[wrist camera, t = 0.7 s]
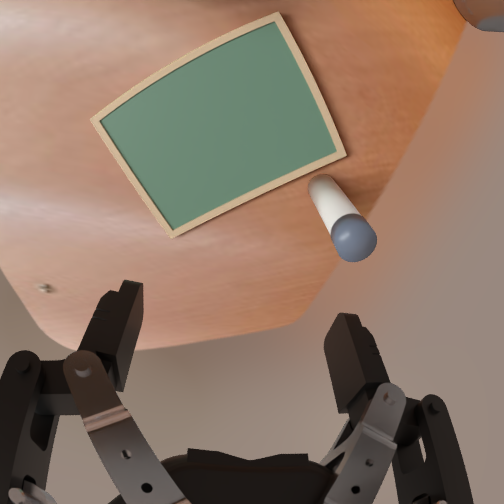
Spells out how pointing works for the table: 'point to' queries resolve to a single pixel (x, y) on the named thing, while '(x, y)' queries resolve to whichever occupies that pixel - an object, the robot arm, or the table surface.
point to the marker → (342, 219)
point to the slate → (221, 126)
